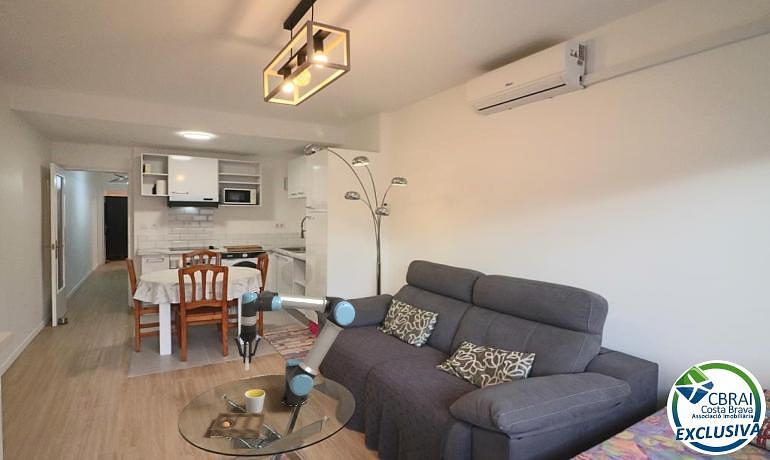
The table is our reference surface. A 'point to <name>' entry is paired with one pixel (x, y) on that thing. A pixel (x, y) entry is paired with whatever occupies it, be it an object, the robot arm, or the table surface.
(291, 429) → the table surface
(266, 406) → the table surface
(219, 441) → the table surface
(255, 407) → the mug
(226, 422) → the ball
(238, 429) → the board
